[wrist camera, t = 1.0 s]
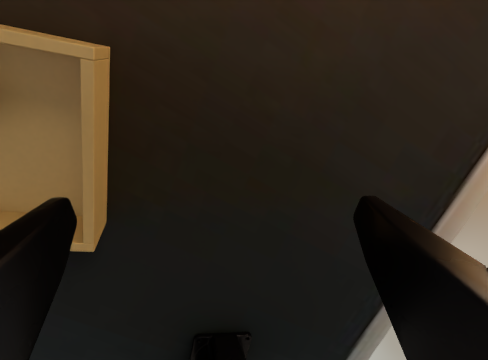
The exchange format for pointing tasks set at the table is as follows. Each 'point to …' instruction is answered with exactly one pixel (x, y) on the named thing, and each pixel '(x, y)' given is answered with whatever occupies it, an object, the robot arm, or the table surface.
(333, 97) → the table surface
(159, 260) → the table surface
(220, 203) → the table surface
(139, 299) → the table surface
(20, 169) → the tray
